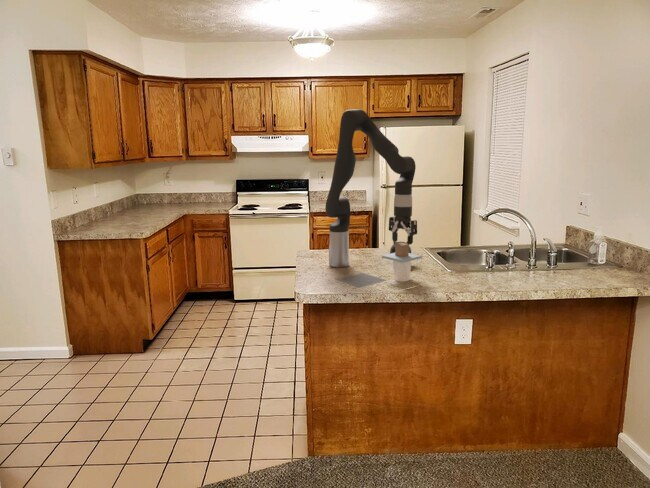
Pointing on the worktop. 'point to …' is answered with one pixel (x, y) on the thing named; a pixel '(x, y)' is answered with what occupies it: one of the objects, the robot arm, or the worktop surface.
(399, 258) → the lid
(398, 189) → the robot arm
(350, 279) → the mat
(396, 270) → the white cup
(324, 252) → the worktop surface
